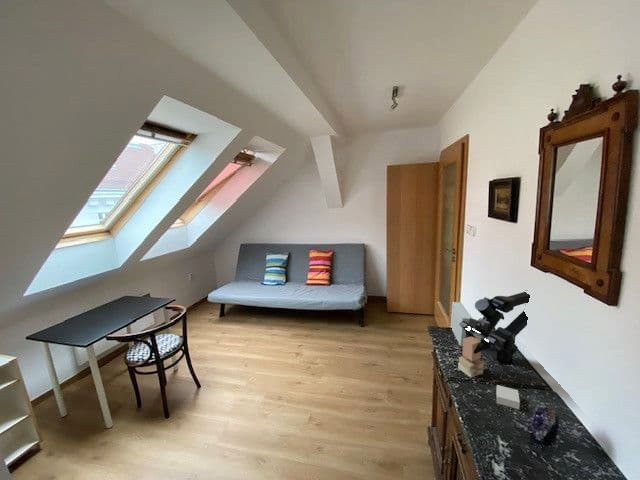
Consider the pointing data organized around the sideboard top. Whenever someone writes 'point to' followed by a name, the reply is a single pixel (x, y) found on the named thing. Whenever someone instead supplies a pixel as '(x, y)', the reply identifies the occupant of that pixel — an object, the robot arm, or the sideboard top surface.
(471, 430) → the sideboard top surface
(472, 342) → the terracotta block
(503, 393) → the block
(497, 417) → the sideboard top surface
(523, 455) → the sideboard top surface
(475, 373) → the tower base
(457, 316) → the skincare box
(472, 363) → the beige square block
